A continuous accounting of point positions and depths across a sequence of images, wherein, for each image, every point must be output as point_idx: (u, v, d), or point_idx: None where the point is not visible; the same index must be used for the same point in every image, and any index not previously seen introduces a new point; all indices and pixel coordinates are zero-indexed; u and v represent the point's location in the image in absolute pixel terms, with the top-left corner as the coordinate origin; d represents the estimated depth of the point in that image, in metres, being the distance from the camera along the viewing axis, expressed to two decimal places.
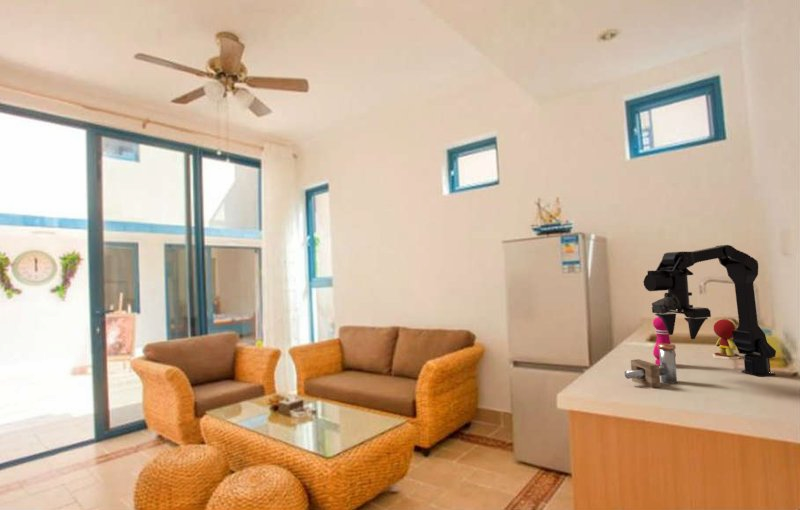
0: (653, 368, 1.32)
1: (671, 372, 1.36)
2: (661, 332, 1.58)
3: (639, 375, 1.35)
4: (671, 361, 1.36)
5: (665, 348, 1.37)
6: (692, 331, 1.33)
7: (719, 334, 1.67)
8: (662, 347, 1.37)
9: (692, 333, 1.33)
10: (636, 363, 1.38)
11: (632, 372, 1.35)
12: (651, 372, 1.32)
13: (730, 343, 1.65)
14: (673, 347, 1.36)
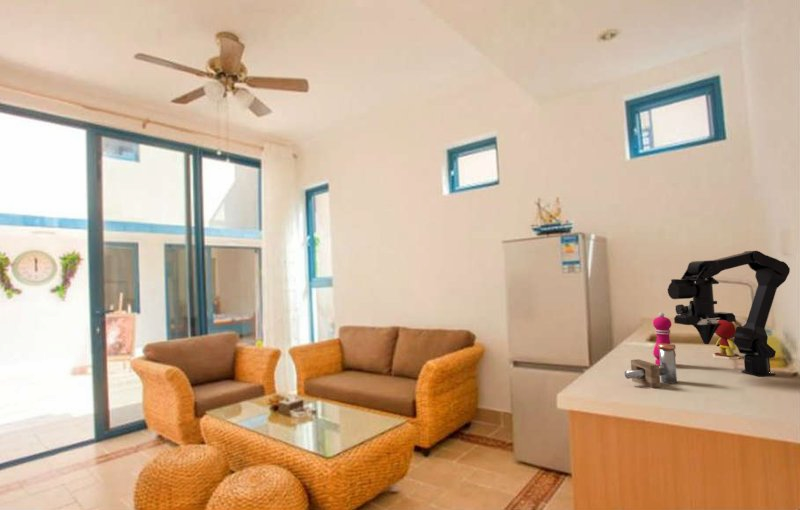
0: (653, 368, 1.32)
1: (671, 372, 1.36)
2: (661, 332, 1.58)
3: (639, 375, 1.35)
4: (671, 361, 1.36)
5: (665, 348, 1.37)
6: (701, 336, 1.42)
7: (719, 334, 1.67)
8: (662, 347, 1.37)
9: (702, 338, 1.42)
10: (636, 363, 1.38)
11: (632, 372, 1.35)
12: (651, 372, 1.32)
13: (730, 343, 1.65)
14: (673, 347, 1.36)
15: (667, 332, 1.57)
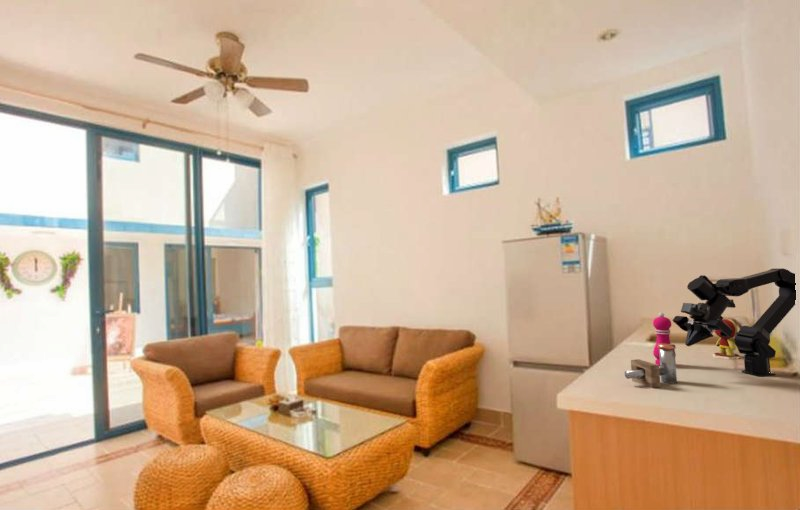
0: (653, 368, 1.32)
1: (671, 372, 1.36)
2: (661, 332, 1.58)
3: (639, 375, 1.35)
4: (671, 361, 1.36)
5: (665, 348, 1.37)
6: (692, 338, 1.39)
7: (719, 334, 1.67)
8: (662, 347, 1.37)
9: (691, 340, 1.39)
10: (636, 363, 1.38)
11: (632, 372, 1.35)
12: (651, 372, 1.32)
13: (730, 343, 1.65)
14: (673, 347, 1.36)
15: (667, 332, 1.57)
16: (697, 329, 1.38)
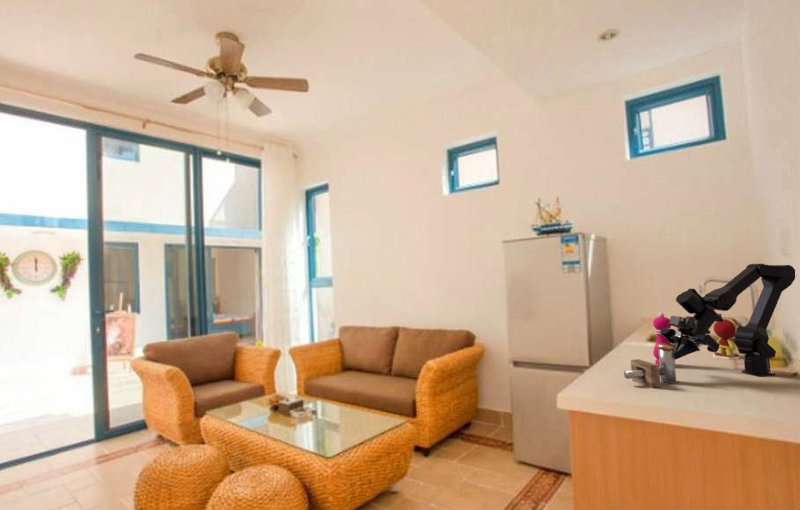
0: (653, 368, 1.32)
1: (671, 372, 1.36)
2: None
3: (639, 375, 1.35)
4: (671, 361, 1.36)
5: (664, 348, 1.37)
6: (679, 351, 1.38)
7: (719, 334, 1.67)
8: (661, 347, 1.37)
9: (677, 353, 1.38)
10: (636, 363, 1.38)
11: (631, 372, 1.35)
12: (651, 372, 1.32)
13: (730, 343, 1.65)
14: (672, 347, 1.36)
15: None
16: (684, 343, 1.37)
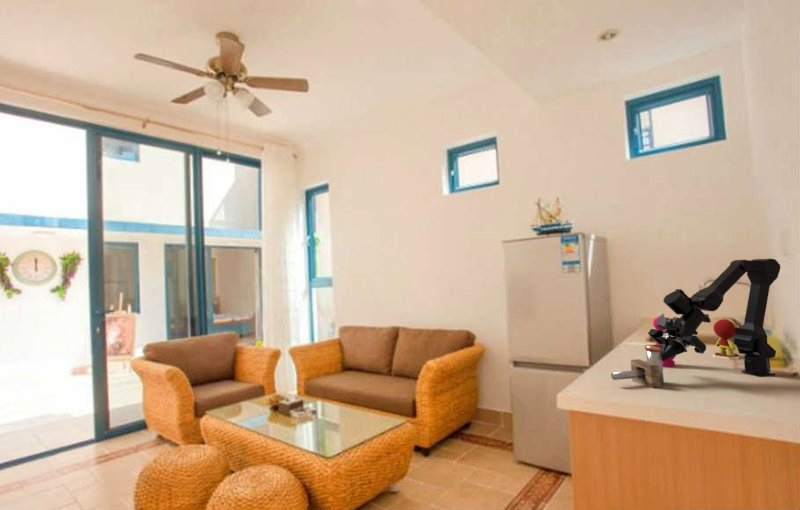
0: (653, 368, 1.32)
1: None
2: None
3: (626, 376, 1.35)
4: (658, 362, 1.35)
5: (652, 349, 1.36)
6: (666, 353, 1.37)
7: (719, 334, 1.67)
8: (649, 348, 1.36)
9: (665, 354, 1.37)
10: (636, 363, 1.38)
11: (618, 373, 1.35)
12: (651, 372, 1.32)
13: (730, 343, 1.65)
14: (660, 348, 1.35)
15: None
16: (671, 344, 1.37)
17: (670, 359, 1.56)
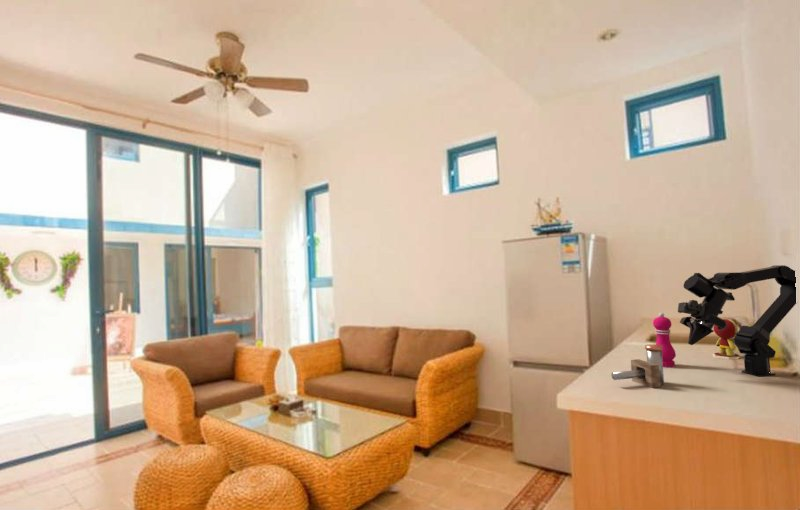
0: (653, 368, 1.32)
1: None
2: (661, 332, 1.58)
3: (626, 376, 1.35)
4: (658, 362, 1.35)
5: (652, 349, 1.36)
6: (693, 336, 1.41)
7: (719, 334, 1.67)
8: (649, 348, 1.36)
9: (692, 338, 1.41)
10: (636, 363, 1.38)
11: (619, 373, 1.35)
12: (651, 372, 1.32)
13: (730, 343, 1.65)
14: (660, 348, 1.35)
15: (667, 332, 1.57)
16: (695, 326, 1.41)
17: (670, 359, 1.56)
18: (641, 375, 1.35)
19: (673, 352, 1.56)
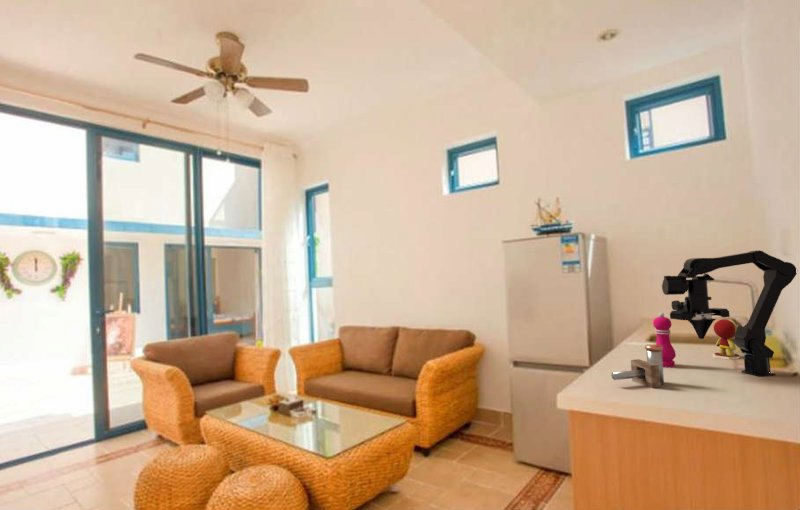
0: (653, 368, 1.32)
1: None
2: (661, 332, 1.58)
3: (626, 376, 1.35)
4: (658, 362, 1.35)
5: (652, 349, 1.36)
6: (696, 331, 1.47)
7: (719, 334, 1.67)
8: (649, 348, 1.36)
9: (697, 333, 1.47)
10: (636, 363, 1.38)
11: (619, 373, 1.35)
12: (651, 372, 1.32)
13: (730, 343, 1.65)
14: (660, 348, 1.35)
15: (667, 332, 1.57)
16: None
17: (670, 359, 1.56)
18: (641, 375, 1.35)
19: (673, 352, 1.56)
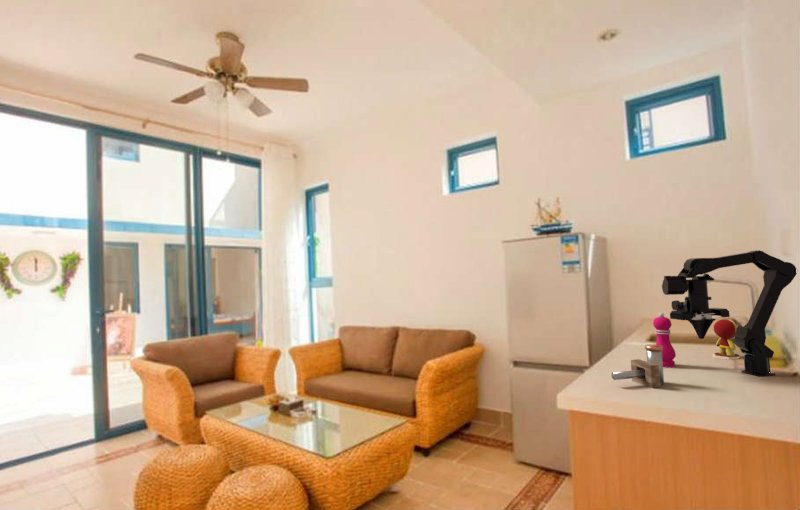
0: (653, 368, 1.32)
1: None
2: (661, 332, 1.58)
3: (626, 376, 1.35)
4: (658, 362, 1.35)
5: (652, 349, 1.36)
6: (696, 331, 1.47)
7: (719, 334, 1.67)
8: (649, 348, 1.36)
9: (697, 333, 1.47)
10: (636, 363, 1.38)
11: (619, 373, 1.35)
12: (651, 372, 1.32)
13: (730, 343, 1.65)
14: (660, 348, 1.35)
15: (667, 332, 1.57)
16: None
17: (670, 359, 1.56)
18: (641, 375, 1.35)
19: (673, 352, 1.56)
